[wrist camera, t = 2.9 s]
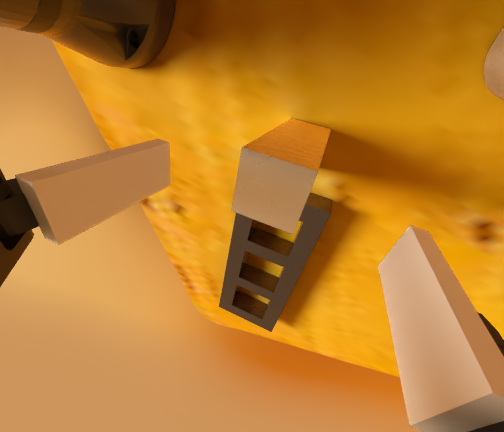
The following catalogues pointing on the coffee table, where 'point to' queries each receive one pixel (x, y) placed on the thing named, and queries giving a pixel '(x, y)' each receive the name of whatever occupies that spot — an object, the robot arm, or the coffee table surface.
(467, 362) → the robot arm
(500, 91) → the flower pot
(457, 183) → the coffee table surface
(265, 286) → the dark grey ladder frame
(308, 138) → the beige tall block
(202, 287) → the coffee table surface
